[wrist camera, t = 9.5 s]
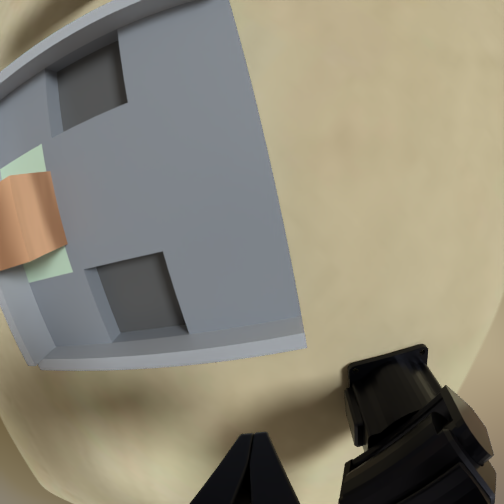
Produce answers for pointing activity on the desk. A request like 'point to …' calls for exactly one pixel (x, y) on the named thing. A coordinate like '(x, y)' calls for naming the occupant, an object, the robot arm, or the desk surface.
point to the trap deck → (147, 195)
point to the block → (28, 219)
